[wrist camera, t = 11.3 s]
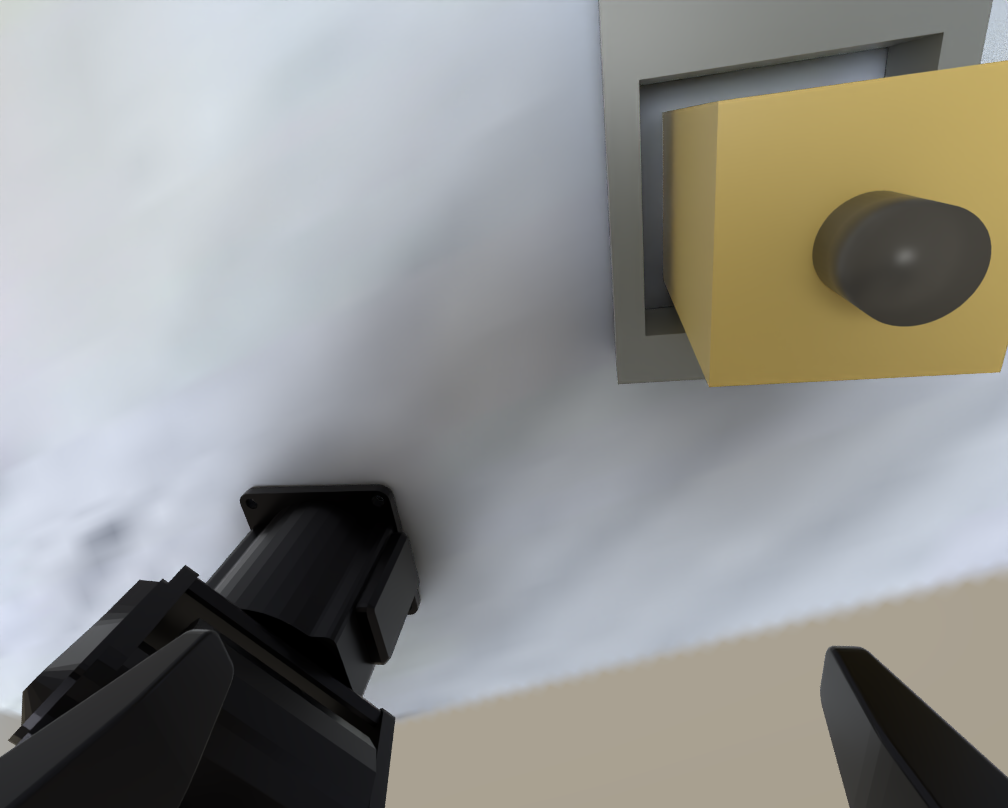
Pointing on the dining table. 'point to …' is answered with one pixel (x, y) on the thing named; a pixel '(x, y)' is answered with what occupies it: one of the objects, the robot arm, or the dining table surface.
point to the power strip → (723, 48)
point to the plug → (842, 229)
